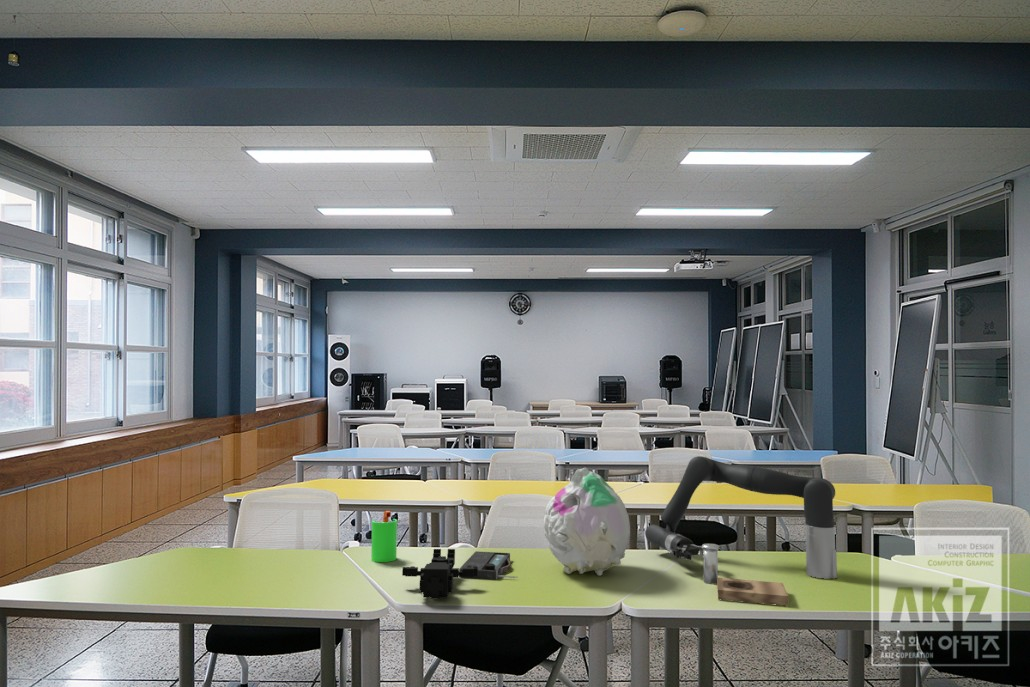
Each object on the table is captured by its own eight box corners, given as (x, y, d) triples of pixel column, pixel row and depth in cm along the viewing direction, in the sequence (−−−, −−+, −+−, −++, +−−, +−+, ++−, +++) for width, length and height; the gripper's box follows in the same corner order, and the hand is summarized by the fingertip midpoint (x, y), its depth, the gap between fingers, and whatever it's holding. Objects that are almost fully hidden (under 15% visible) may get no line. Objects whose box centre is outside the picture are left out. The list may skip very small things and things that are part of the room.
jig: (783, 592, 210) (782, 582, 211) (788, 606, 197) (788, 596, 197) (717, 586, 216) (717, 577, 216) (718, 599, 202) (718, 589, 203)
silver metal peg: (719, 580, 223) (718, 544, 224) (719, 585, 218) (719, 547, 219) (702, 579, 225) (702, 543, 225) (702, 583, 219) (702, 546, 220)
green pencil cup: (389, 555, 251) (390, 507, 253) (401, 559, 245) (402, 510, 247) (368, 559, 245) (369, 510, 246) (379, 563, 239) (380, 513, 240)
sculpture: (546, 595, 220) (632, 577, 211) (517, 486, 226) (600, 465, 217) (572, 570, 251) (648, 554, 242) (546, 475, 257) (620, 456, 248)
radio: (475, 548, 248) (528, 550, 245) (475, 559, 248) (528, 562, 245) (459, 565, 224) (517, 568, 220) (458, 578, 223) (517, 581, 220)
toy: (479, 549, 226) (475, 566, 196) (479, 578, 225) (475, 599, 195) (409, 548, 226) (394, 565, 196) (408, 577, 224) (393, 599, 195)
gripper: (661, 536, 242) (682, 546, 226) (696, 534, 245) (720, 544, 229) (661, 557, 241) (683, 568, 225) (696, 555, 244) (720, 566, 229)
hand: (701, 556), depth 227 cm, fingers open, 8 cm apart
